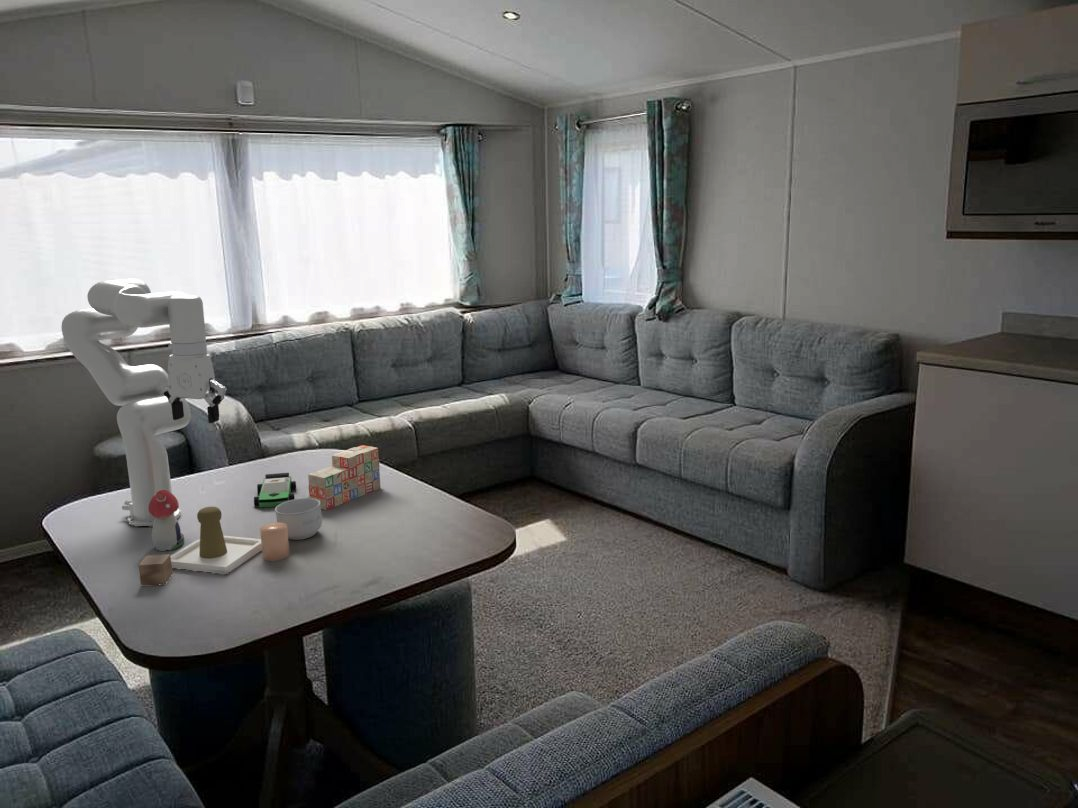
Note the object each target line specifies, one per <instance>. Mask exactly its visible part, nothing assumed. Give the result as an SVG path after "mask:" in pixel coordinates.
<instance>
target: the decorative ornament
mask: <svg viewBox="0 0 1078 808" xmlns="http://www.w3.org/2000/svg"><path fill="white" fill-rule="evenodd" d="M178 508H179V509H180V505H179V501H178V499H177V498H176V496H175V495H174V494H173V492H172V493H171V492H169V491H167V490H160V491H158V492H157V493H156V494H155V495H154V496H153V497H152V499H151V501H150V503H149V506H148V511H149V513H150V514H151V515H152V516H154V517H155V521H154V524H153V526H152V530H151V541H152V545H153V547H154V548H155V549H156V550H157V551H158V550H159V552H167V551H166V550H169V551H174V550H173V549H175V550H176V548H177V549H178V547H179V548H181V547H182V546H183V545H184V542H185V535H184V534H183V533H182V532H181V526H180V522H179V521H178V518H177V519H176V517H175V516H174V515H173V513H174V512H175V511H177V510H178ZM180 546H181V547H180Z"/></svg>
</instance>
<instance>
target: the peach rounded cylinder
mask: <svg viewBox="0 0 1078 808" xmlns="http://www.w3.org/2000/svg"><path fill="white" fill-rule="evenodd" d="M259 530H260V531H259V532H260V533H259V534H260V539H261V545H262V550H261V553H262V554H261V555H262V559H263V560H265V561H268V562H269V561H270V562H275V561H276V562H277V561H280V560H284V559H287V558H288V557H290V543H289V538H288V529H287V524H285V523H279V522H277V521H276V522H270V523H267V524H266V523H265V524H264V525H261V526H260V527H259Z"/></svg>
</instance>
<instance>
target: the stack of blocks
mask: <svg viewBox="0 0 1078 808" xmlns="http://www.w3.org/2000/svg"><path fill="white" fill-rule="evenodd" d="M331 462H332V463H331V464H332V465H331V466H328V467H324V468H321V469H319V470H317V471H314V472H311V473H308V475H307V476H308V477H307V478H308V493H309V494H308V496H309V497H310V498H312V499H317V500H319V501H320V503H321V505H320V507H321V510H324V511H328V510H329V509H332V508H335V507H337V506H340V505H343V504H345V503H349V502H350V501H352V500H354V499H357V498H360V497H362V496H364V495H366V494H369V493H372V492H375V491H377V490H379V489H381V477H380V476H381V475H380V458H379V447H375V446H370V445H364V444H363V445H362V444H361V445H359V446H356V447H355V446H354V447H351V448H348V449H346V450H343V451H341V452H337V453H335V454H332V455H331Z"/></svg>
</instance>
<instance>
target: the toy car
mask: <svg viewBox="0 0 1078 808" xmlns="http://www.w3.org/2000/svg"><path fill="white" fill-rule="evenodd" d="M264 476H265V478H263V481H262V483H259V484H257V485H256V490H257V491H256V492H257V495H259V496H254V497H253V506H254V508H258V507H259V508H260V509H262V508H270V507H271V508H272V507H277V506H278V505H280V504H281V503H284V502H287V501H290V500H294V499H296V498H295V493H291V492H296V491H297V483H296V481H294V480H293V481H292V476H290V473H289V472H281V473H279V472H278V473H268V474H265V475H264Z"/></svg>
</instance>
